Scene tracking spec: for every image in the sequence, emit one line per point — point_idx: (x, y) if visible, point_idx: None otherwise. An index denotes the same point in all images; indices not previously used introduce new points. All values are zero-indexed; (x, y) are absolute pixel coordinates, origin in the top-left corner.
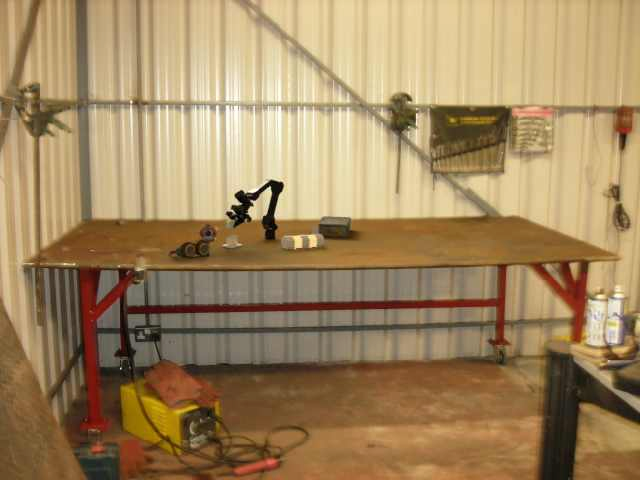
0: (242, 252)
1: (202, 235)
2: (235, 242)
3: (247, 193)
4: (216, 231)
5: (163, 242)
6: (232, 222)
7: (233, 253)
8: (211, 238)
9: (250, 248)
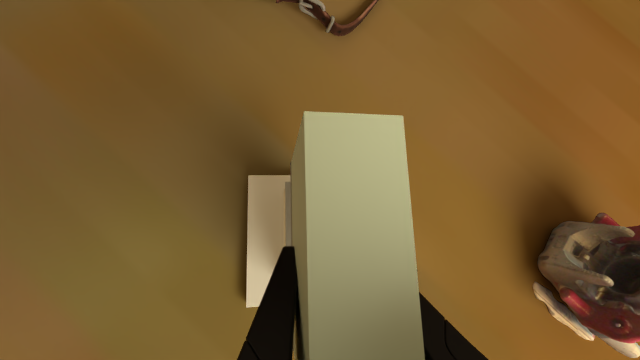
0: (66, 132)
1: (622, 238)
2: None
3: None
4: (626, 342)
5: (627, 52)
6: (300, 237)
7: (103, 68)
8: (548, 259)
9: (119, 285)
